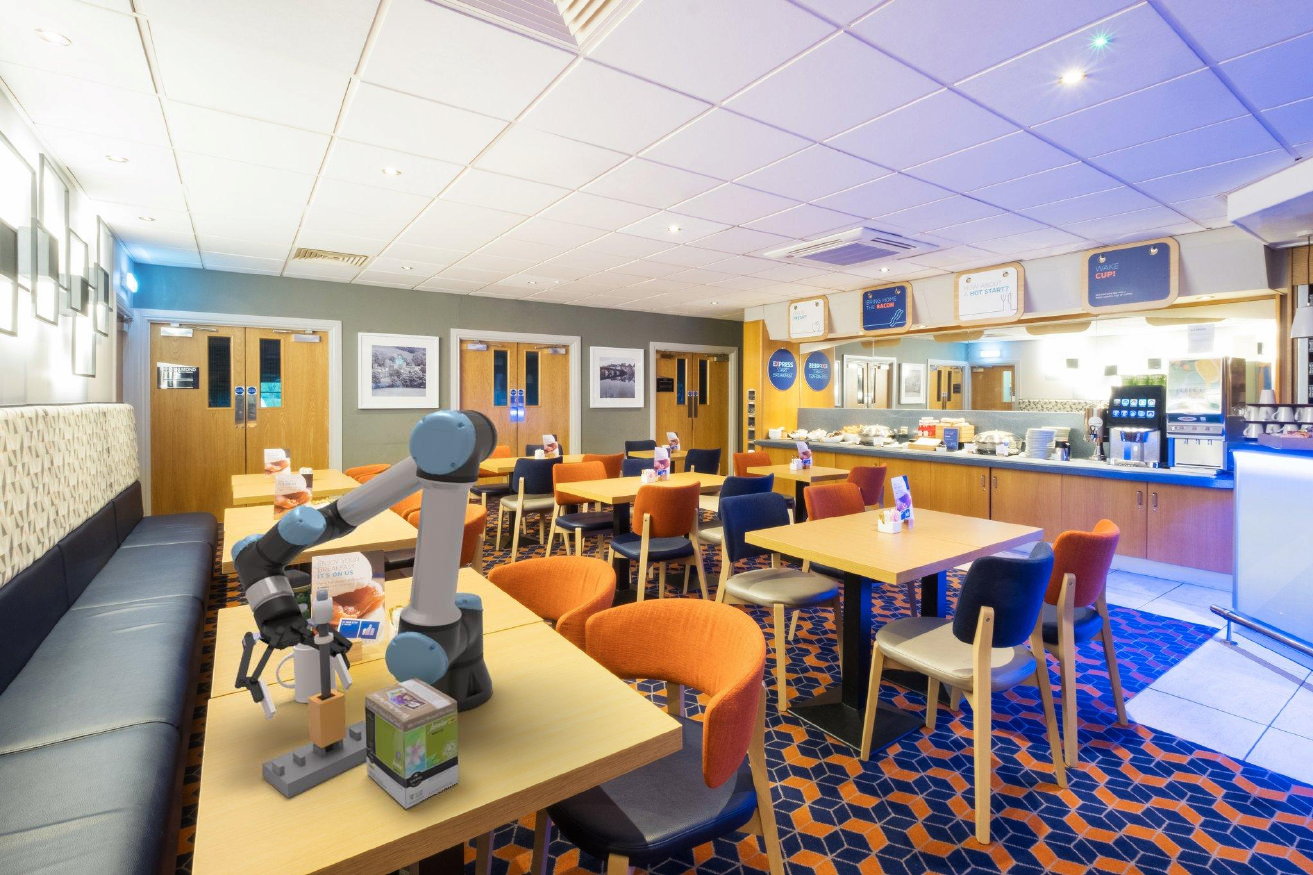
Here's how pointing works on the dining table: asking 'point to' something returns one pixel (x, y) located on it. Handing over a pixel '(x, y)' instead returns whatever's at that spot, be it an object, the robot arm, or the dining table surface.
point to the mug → (306, 672)
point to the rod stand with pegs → (311, 760)
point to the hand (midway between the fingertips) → (312, 700)
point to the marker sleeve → (327, 719)
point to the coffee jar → (301, 591)
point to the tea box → (411, 740)
